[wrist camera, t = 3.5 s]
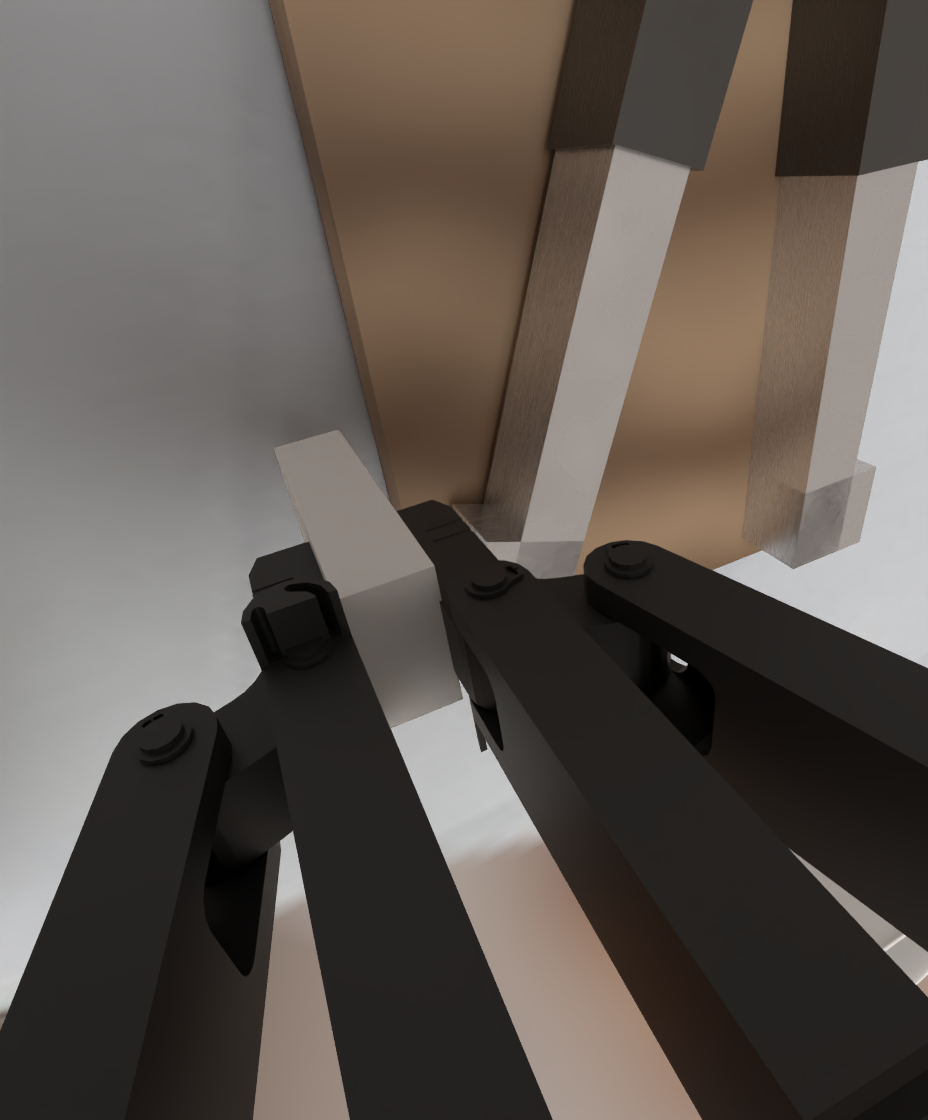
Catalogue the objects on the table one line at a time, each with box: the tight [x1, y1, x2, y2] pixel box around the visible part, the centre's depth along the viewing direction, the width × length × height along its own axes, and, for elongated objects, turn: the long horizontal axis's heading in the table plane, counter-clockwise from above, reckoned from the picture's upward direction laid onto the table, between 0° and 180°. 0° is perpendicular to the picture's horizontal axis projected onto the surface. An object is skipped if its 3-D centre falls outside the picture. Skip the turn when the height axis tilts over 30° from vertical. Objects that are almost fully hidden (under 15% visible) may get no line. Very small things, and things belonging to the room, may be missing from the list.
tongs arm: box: [452, 0, 753, 579], centre depth 14 cm, size 26×6×3 cm, turn 169°
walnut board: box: [269, 0, 793, 575], centre depth 17 cm, size 28×16×2 cm, turn 9°
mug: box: [791, 850, 928, 985], centre depth 27 cm, size 10×7×12 cm, turn 158°
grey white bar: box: [742, 0, 928, 569], centre depth 16 cm, size 26×6×3 cm, turn 9°
